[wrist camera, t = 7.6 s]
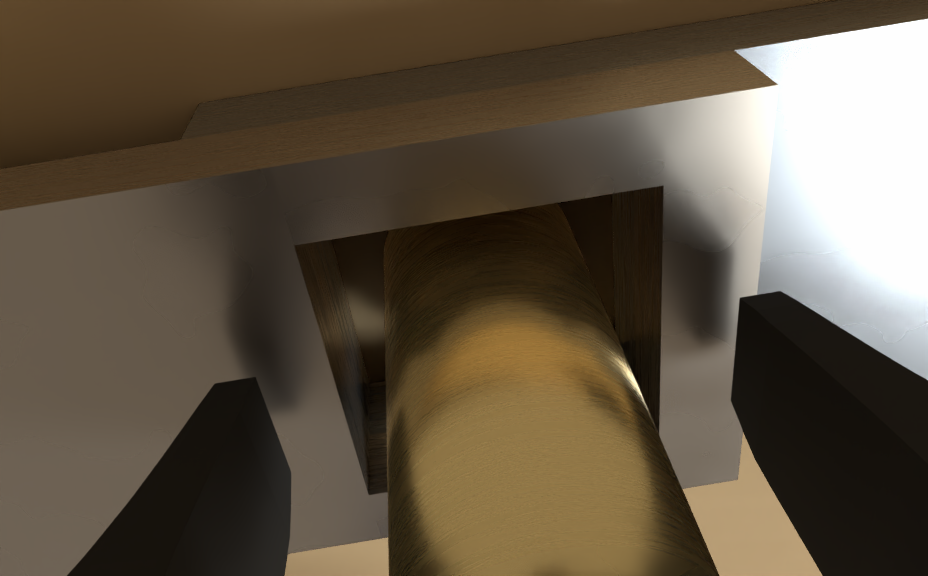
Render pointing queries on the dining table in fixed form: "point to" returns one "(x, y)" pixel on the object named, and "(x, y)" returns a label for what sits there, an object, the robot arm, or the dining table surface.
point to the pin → (518, 413)
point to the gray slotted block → (441, 199)
